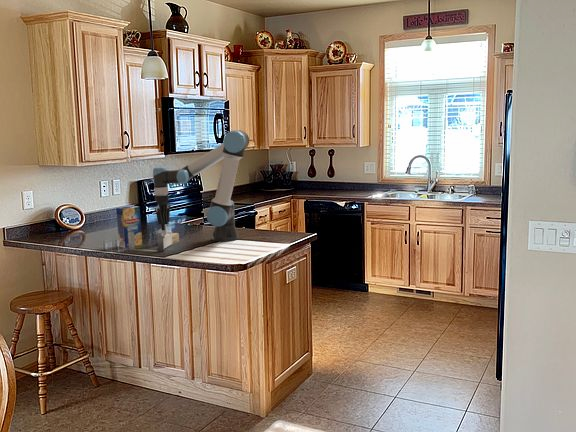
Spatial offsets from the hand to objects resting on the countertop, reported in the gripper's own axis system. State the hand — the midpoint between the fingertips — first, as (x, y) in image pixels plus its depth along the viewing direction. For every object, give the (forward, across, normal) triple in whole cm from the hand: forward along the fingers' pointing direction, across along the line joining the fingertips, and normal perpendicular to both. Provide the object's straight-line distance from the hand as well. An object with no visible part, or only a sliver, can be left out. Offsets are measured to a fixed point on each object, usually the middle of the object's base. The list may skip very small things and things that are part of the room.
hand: (165, 235), depth 333 cm
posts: (+5, +19, +2) cm, 19 cm away
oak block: (+5, -5, -1) cm, 7 cm away
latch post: (+5, +19, -9) cm, 21 cm away
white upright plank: (+4, +10, +7) cm, 13 cm away
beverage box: (+5, +9, -18) cm, 20 cm away
